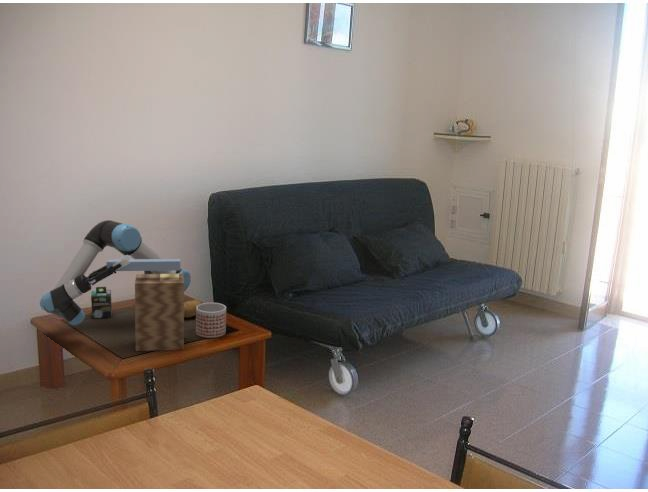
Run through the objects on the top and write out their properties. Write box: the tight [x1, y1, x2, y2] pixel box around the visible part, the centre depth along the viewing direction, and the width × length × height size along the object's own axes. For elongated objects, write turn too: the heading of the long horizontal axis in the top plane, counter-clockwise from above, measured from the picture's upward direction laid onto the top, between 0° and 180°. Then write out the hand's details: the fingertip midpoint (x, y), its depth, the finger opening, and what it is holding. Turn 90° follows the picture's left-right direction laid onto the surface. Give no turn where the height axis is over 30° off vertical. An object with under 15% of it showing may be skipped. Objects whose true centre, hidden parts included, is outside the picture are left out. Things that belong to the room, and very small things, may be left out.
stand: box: [134, 273, 185, 352], centre depth 281 cm, size 20×14×30 cm
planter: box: [195, 302, 227, 339], centre depth 299 cm, size 14×14×13 cm
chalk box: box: [90, 286, 113, 319], centre depth 314 cm, size 9×9×15 cm
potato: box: [184, 299, 202, 319], centre depth 319 cm, size 10×14×8 cm
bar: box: [106, 258, 181, 272], centre depth 274 cm, size 30×4×4 cm, turn 103°
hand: (128, 259), depth 272 cm, fingers closed on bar, 4 cm apart
